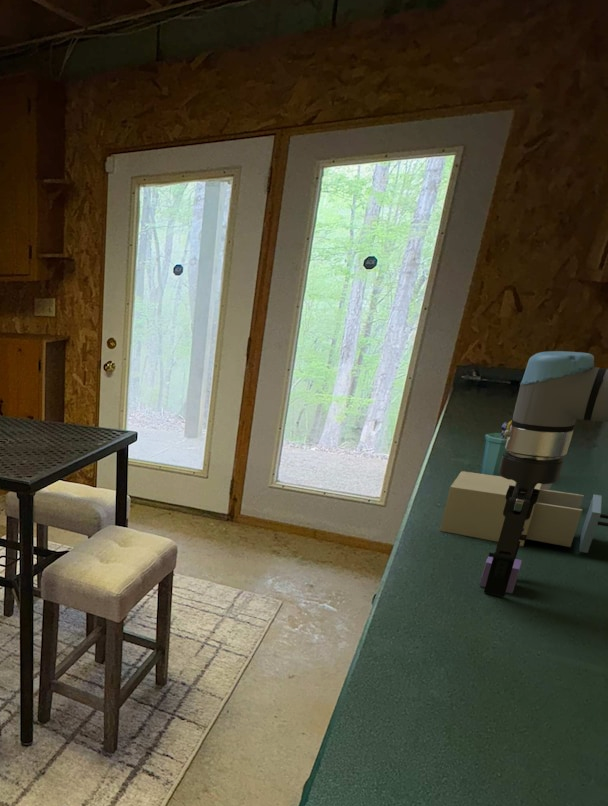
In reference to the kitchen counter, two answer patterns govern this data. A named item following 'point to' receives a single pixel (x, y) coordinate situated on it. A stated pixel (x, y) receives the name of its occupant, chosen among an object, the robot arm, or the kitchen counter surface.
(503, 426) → the cup
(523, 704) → the kitchen counter surface
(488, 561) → the block
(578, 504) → the drawer
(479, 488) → the tan drawer cabinet
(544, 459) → the robot arm
